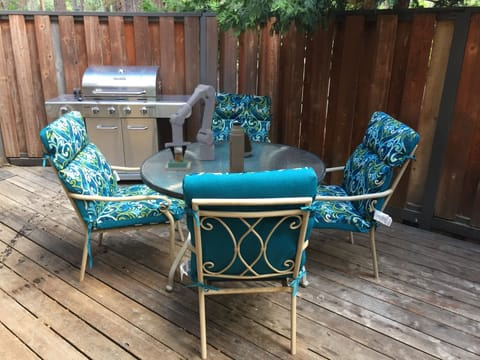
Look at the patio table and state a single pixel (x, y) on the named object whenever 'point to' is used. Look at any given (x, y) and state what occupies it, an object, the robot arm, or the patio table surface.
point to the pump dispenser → (247, 145)
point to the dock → (178, 165)
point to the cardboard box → (178, 157)
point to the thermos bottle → (236, 148)
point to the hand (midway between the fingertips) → (178, 158)
